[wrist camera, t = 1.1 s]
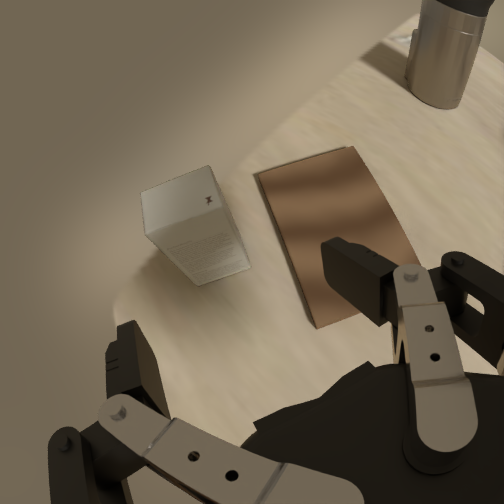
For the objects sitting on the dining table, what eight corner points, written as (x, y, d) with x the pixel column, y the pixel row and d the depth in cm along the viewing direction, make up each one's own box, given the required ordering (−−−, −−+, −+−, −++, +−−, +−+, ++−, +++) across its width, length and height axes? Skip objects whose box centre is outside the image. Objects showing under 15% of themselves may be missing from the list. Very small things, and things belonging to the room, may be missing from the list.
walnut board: (259, 180, 36) (258, 174, 35) (352, 152, 36) (353, 145, 35) (316, 329, 29) (317, 327, 28) (424, 285, 28) (428, 281, 27)
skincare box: (240, 233, 34) (211, 162, 23) (252, 269, 32) (225, 206, 21) (187, 252, 34) (138, 190, 23) (196, 288, 32) (144, 236, 21)
